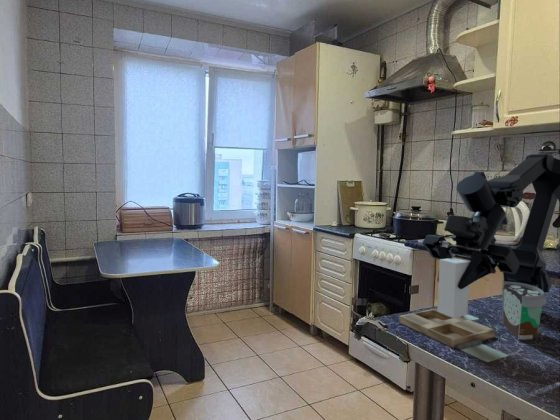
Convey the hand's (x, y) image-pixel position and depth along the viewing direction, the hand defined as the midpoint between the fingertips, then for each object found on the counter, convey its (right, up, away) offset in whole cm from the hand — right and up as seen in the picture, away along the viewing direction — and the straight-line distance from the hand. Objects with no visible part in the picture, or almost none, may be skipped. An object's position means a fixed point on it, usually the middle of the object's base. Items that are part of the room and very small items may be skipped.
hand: (449, 285), depth 81 cm
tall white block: (+1, -6, +1) cm, 6 cm away
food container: (+18, -12, +5) cm, 22 cm away
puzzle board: (+6, -11, +5) cm, 14 cm away
